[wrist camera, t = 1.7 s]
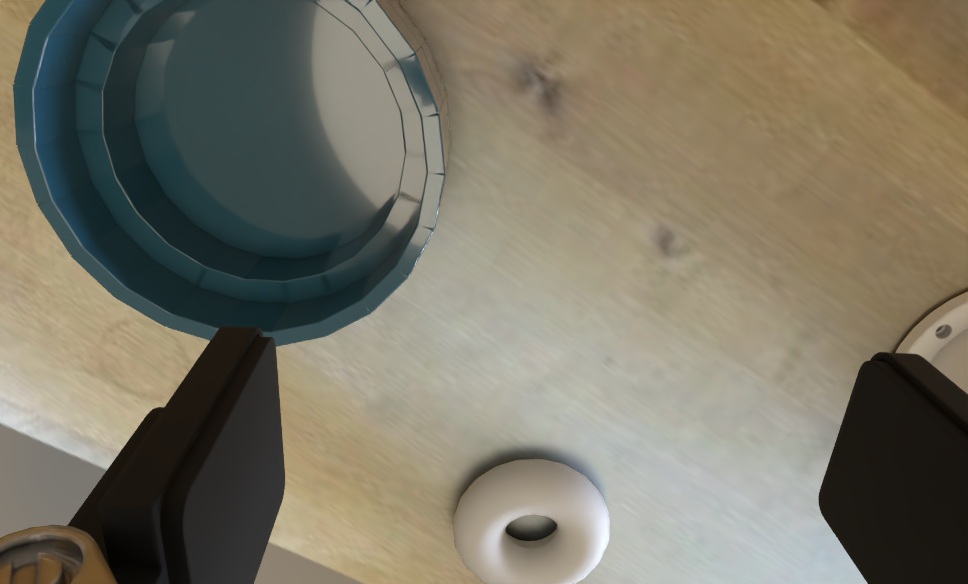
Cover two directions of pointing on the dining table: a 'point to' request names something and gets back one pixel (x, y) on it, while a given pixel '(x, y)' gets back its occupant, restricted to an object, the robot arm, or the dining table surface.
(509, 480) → the donut
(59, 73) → the bowl
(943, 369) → the robot arm
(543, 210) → the dining table surface
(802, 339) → the dining table surface
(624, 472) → the dining table surface
